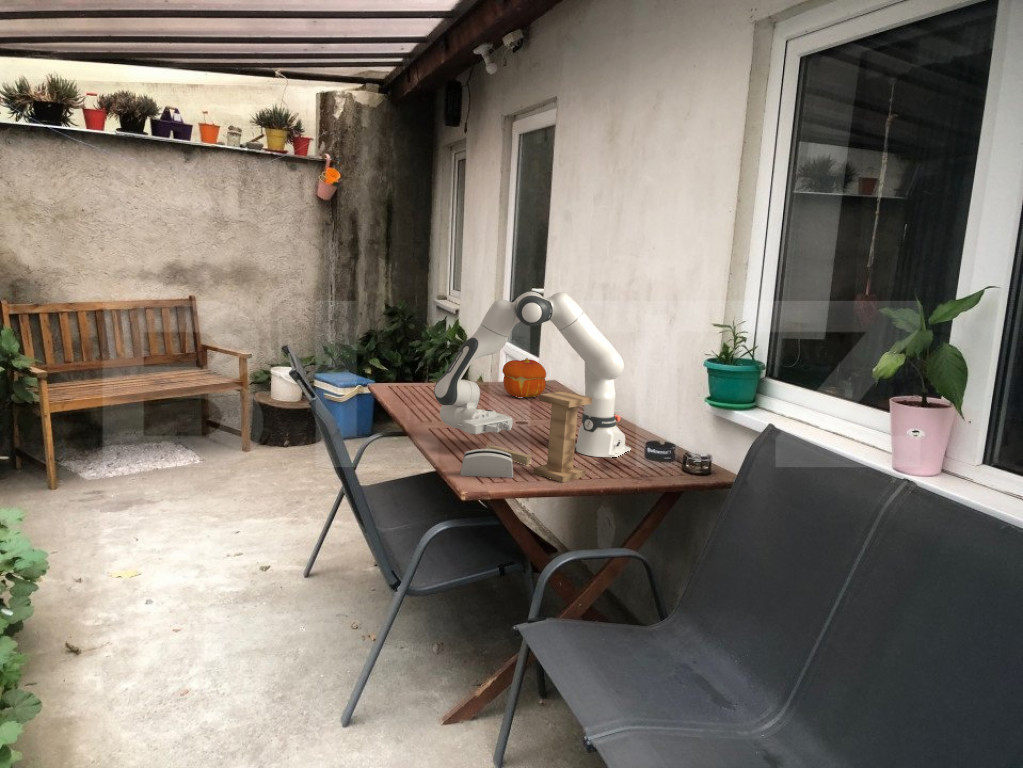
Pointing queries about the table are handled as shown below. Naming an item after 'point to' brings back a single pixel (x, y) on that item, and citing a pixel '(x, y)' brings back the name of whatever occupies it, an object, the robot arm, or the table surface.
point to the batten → (514, 455)
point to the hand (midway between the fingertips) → (504, 429)
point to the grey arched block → (487, 463)
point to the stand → (562, 436)
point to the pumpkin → (524, 378)
